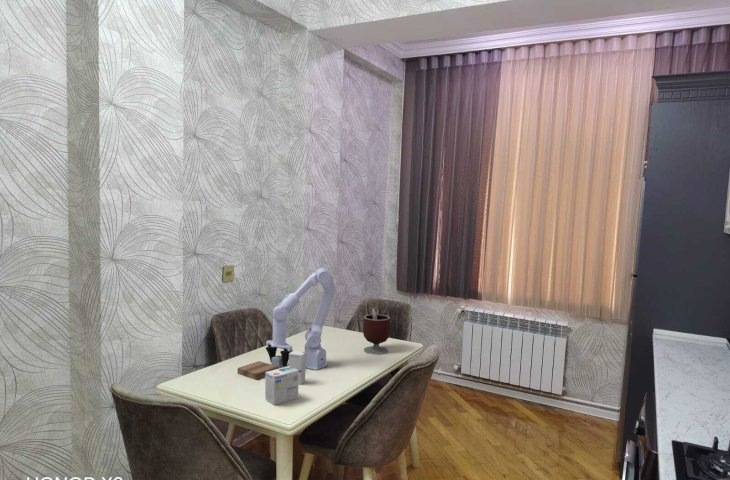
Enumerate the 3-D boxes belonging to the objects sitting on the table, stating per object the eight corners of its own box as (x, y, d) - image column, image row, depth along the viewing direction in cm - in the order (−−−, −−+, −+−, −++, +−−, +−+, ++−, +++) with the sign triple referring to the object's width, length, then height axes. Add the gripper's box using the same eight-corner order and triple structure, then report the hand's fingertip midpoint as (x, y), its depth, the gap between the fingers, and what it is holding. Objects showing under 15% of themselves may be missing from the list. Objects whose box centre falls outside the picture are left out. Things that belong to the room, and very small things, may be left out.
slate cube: (286, 367, 211) (286, 357, 211) (278, 369, 208) (278, 359, 207) (279, 365, 214) (279, 355, 214) (271, 367, 210) (271, 357, 210)
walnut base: (278, 373, 204) (278, 366, 204) (256, 381, 194) (256, 374, 194) (259, 367, 211) (259, 361, 211) (237, 374, 201) (237, 367, 201)
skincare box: (287, 383, 192) (287, 353, 191) (292, 379, 196) (292, 350, 195) (301, 385, 190) (301, 355, 189) (306, 381, 194) (306, 352, 193)
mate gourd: (393, 354, 234) (394, 314, 232) (366, 355, 230) (367, 314, 229) (384, 345, 249) (385, 307, 247) (358, 346, 245) (359, 308, 244)
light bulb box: (288, 393, 182) (289, 365, 181) (299, 398, 177) (299, 369, 176) (264, 400, 174) (264, 371, 174) (274, 405, 169) (274, 376, 169)
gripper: (261, 332, 211) (260, 362, 212) (284, 338, 202) (283, 369, 203) (273, 329, 217) (272, 359, 217) (295, 335, 208) (295, 365, 209)
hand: (278, 364), depth 211 cm, fingers open, 7 cm apart
